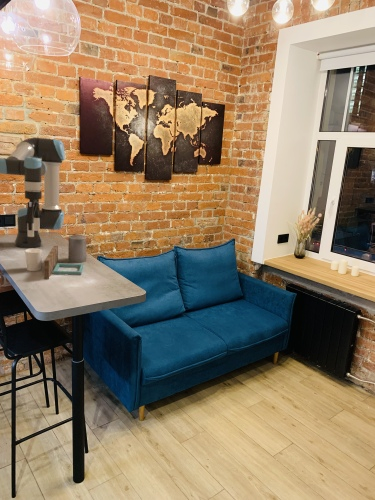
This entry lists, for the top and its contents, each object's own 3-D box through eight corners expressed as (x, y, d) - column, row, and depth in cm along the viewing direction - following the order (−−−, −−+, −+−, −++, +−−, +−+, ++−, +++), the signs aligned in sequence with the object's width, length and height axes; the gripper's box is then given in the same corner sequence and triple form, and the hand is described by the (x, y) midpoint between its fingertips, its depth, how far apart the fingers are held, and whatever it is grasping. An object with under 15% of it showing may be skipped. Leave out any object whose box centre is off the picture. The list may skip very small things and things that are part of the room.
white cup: (45, 268, 190) (45, 250, 188) (34, 272, 183) (34, 253, 181) (33, 265, 193) (32, 247, 190) (22, 269, 186) (21, 250, 183)
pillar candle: (73, 256, 215) (73, 231, 211) (89, 259, 213) (89, 233, 209) (65, 261, 205) (64, 235, 201) (81, 263, 204) (81, 237, 200)
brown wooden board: (48, 279, 177) (48, 261, 174) (44, 278, 176) (44, 260, 174) (57, 261, 203) (57, 246, 201) (54, 261, 203) (54, 245, 200)
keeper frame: (81, 274, 186) (81, 272, 186) (53, 274, 184) (53, 271, 183) (83, 266, 199) (83, 264, 199) (57, 265, 196) (57, 263, 196)
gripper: (36, 194, 167) (36, 239, 172) (46, 188, 191) (46, 228, 196) (18, 192, 165) (19, 238, 171) (30, 187, 189) (31, 227, 194)
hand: (33, 233), depth 183 cm, fingers open, 13 cm apart
